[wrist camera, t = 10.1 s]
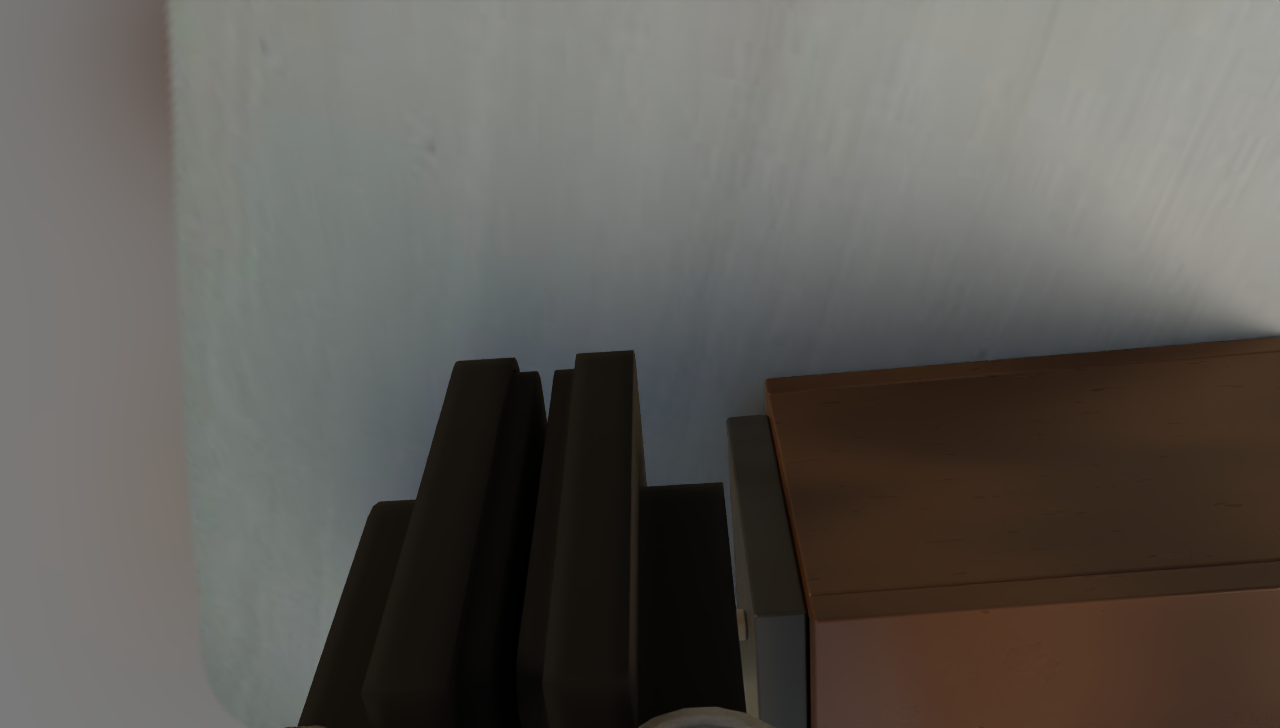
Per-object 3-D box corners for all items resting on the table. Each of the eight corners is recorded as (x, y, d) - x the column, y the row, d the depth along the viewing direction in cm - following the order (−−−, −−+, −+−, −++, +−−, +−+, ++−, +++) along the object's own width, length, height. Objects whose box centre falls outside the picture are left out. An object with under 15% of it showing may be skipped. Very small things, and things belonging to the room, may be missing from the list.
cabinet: (775, 685, 37) (817, 961, 29) (764, 378, 31) (813, 621, 22) (1205, 654, 37) (1372, 928, 28) (1286, 334, 30) (1533, 568, 22)
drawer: (615, 705, 36) (612, 929, 30) (573, 428, 30) (558, 629, 24) (1150, 667, 36) (1270, 887, 29) (1214, 376, 30) (1383, 569, 23)
